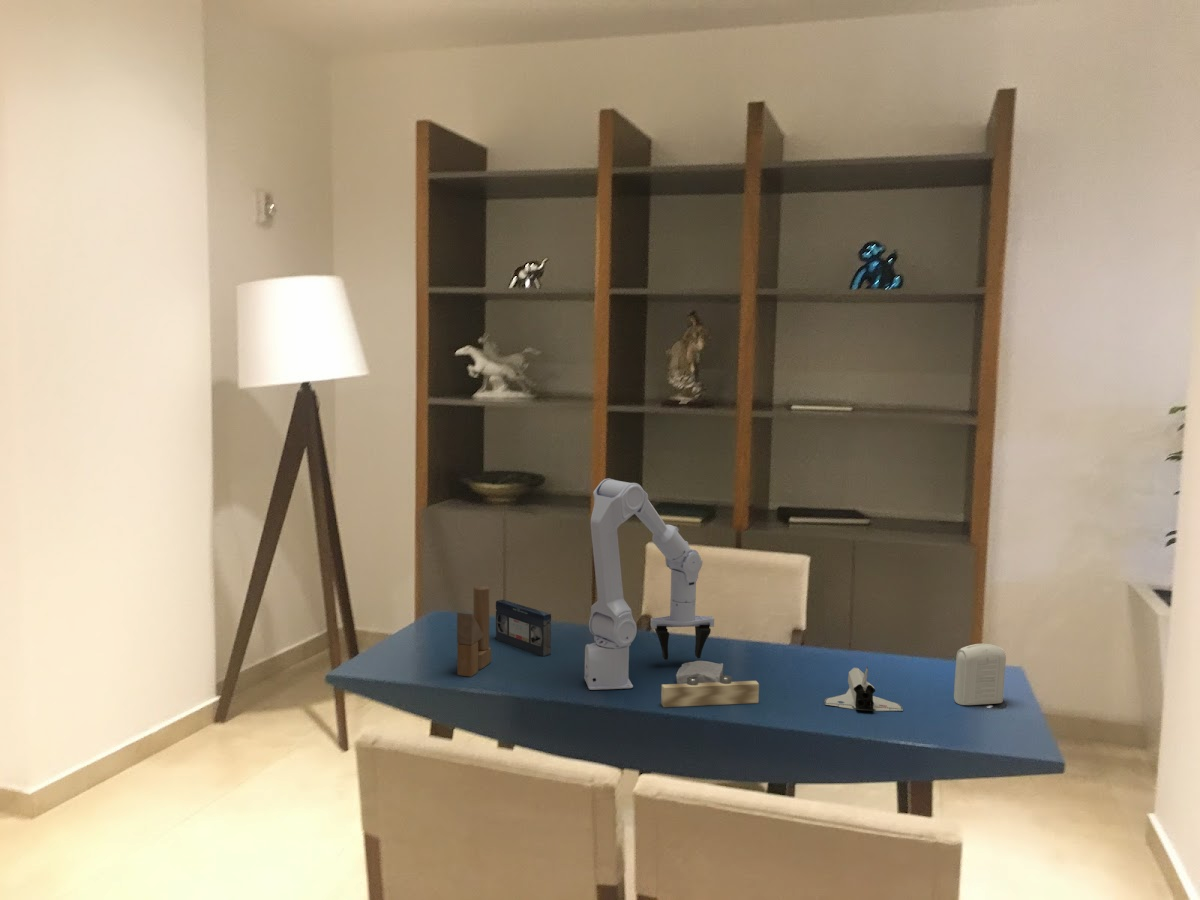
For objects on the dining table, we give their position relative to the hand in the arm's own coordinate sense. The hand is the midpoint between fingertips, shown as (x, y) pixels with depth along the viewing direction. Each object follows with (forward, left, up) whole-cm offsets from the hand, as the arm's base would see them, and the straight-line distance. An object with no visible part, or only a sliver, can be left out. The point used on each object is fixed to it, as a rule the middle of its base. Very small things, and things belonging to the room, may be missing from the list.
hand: (681, 657), depth 217 cm
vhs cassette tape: (-35, +18, -2) cm, 40 cm away
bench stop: (0, -24, -2) cm, 24 cm away
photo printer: (+56, -30, -2) cm, 64 cm away
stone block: (+1, -11, -2) cm, 12 cm away
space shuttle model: (+33, -22, -3) cm, 40 cm away
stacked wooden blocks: (-47, +3, -2) cm, 47 cm away
